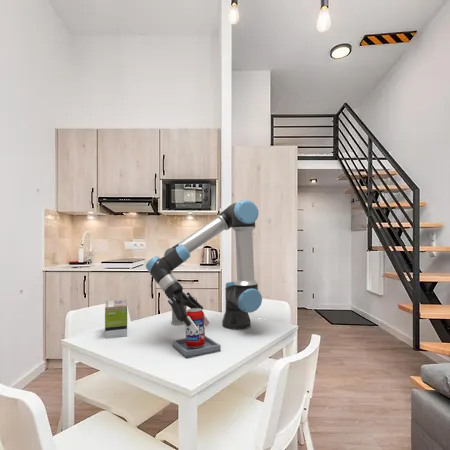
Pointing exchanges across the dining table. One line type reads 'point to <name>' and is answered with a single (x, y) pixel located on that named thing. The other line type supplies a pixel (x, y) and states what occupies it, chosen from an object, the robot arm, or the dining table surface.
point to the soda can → (198, 319)
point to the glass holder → (174, 318)
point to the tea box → (115, 319)
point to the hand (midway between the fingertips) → (202, 327)
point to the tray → (188, 352)
